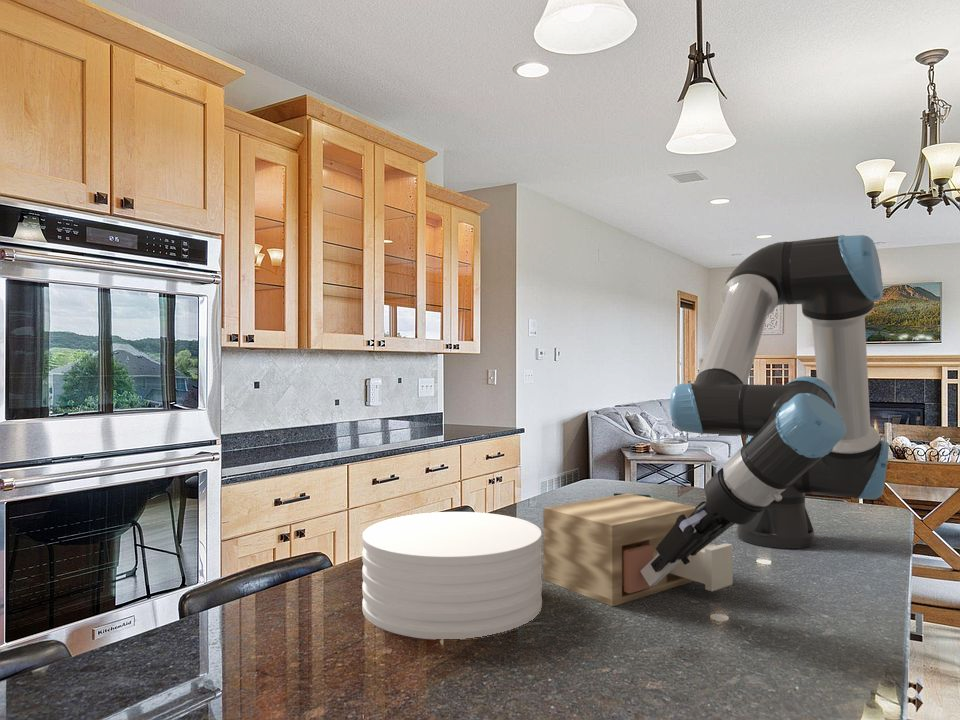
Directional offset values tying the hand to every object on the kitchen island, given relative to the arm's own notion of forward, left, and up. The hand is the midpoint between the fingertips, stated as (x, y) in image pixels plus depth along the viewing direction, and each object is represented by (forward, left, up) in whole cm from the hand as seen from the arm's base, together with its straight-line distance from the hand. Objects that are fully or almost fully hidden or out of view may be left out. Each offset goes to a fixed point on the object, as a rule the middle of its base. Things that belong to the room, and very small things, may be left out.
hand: (648, 577), depth 104 cm
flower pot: (-11, -38, -4) cm, 40 cm away
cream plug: (-8, -8, -2) cm, 12 cm away
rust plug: (+5, -8, -2) cm, 10 cm away
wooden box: (0, -12, -4) cm, 12 cm away
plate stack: (+30, -4, -4) cm, 31 cm away
